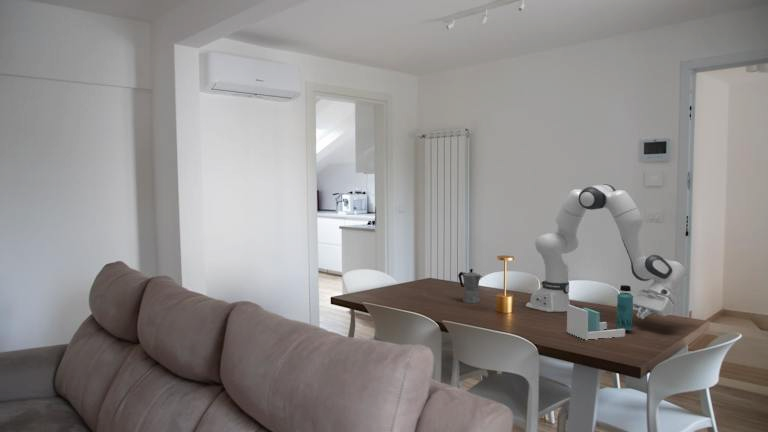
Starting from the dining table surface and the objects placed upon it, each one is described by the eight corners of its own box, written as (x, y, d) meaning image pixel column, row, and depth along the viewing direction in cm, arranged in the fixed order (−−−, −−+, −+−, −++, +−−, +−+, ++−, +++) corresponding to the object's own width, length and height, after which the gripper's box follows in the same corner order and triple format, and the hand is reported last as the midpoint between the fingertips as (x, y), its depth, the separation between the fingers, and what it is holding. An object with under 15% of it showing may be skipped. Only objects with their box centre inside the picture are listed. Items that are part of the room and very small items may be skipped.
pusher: (585, 330, 227) (585, 307, 226) (599, 336, 218) (599, 312, 217) (582, 331, 226) (582, 308, 226) (596, 336, 217) (596, 312, 217)
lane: (605, 328, 231) (605, 301, 231) (625, 336, 219) (625, 307, 219) (566, 332, 226) (567, 304, 226) (585, 340, 214) (585, 311, 214)
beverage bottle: (618, 328, 231) (619, 283, 230) (634, 331, 227) (635, 285, 226) (614, 331, 226) (614, 285, 225) (630, 334, 222) (631, 287, 221)
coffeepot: (486, 302, 287) (486, 269, 286) (476, 304, 280) (476, 271, 279) (463, 298, 298) (463, 266, 297) (453, 300, 291) (453, 268, 290)
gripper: (636, 284, 240) (618, 307, 238) (672, 293, 220) (652, 318, 218) (644, 293, 241) (626, 316, 239) (681, 303, 221) (661, 327, 219)
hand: (639, 317), depth 228 cm, fingers closed
